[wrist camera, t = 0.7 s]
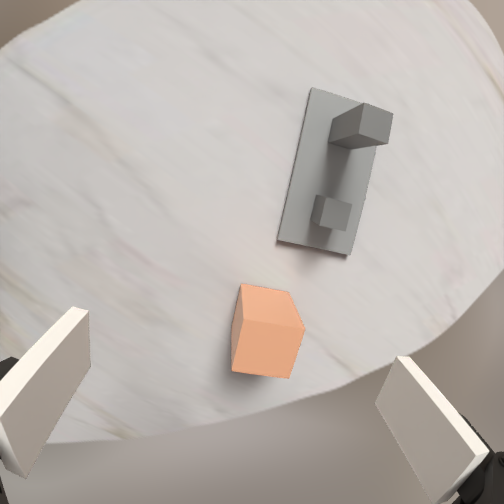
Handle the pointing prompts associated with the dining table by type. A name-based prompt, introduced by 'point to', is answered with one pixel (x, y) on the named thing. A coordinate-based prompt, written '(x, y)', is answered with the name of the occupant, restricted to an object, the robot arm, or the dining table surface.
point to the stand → (332, 171)
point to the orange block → (265, 332)
